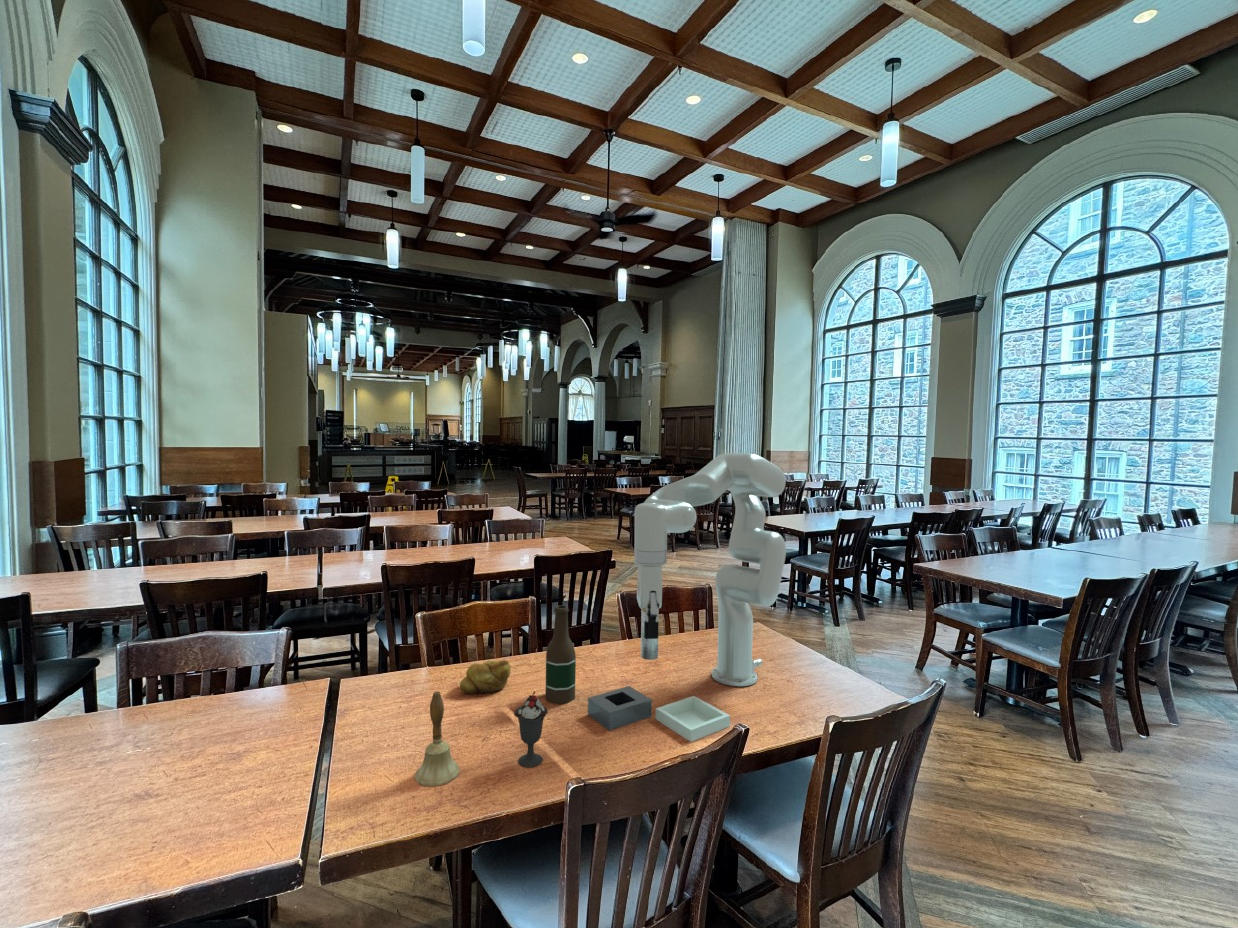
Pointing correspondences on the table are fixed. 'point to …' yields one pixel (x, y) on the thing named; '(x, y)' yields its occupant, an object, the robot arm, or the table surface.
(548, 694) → the beer bottle
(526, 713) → the sundae
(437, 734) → the hand bell
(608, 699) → the block
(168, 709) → the table surface
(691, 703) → the tray
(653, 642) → the pin
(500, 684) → the bread roll
